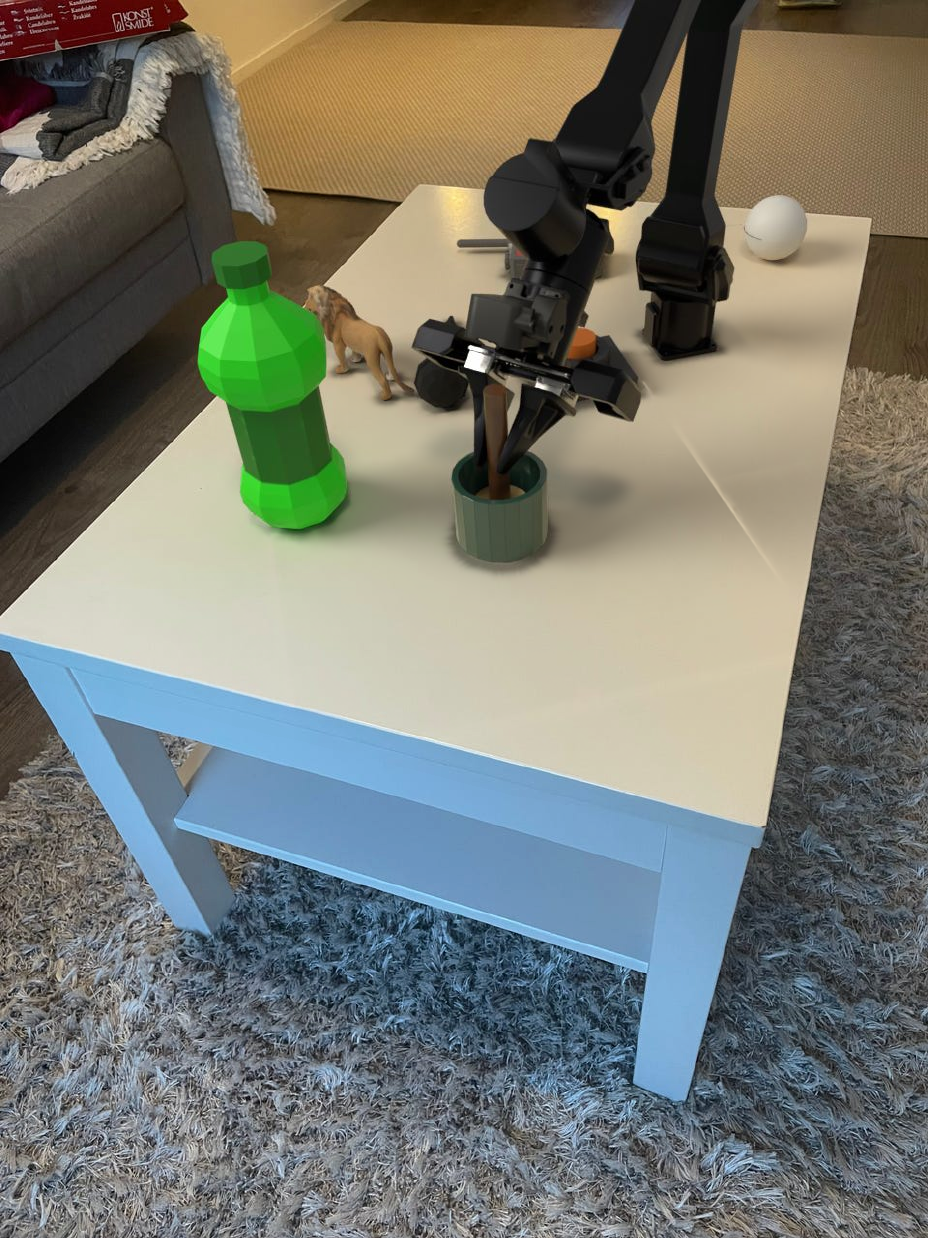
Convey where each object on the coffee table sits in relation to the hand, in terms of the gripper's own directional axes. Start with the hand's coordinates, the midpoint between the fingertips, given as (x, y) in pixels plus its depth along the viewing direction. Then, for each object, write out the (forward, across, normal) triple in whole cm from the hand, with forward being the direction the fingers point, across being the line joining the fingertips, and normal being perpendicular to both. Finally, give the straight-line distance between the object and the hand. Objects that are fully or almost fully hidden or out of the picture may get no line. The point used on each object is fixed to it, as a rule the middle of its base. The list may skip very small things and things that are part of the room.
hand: (488, 470), depth 79 cm
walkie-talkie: (-29, -24, +40) cm, 55 cm away
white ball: (-38, 0, +50) cm, 63 cm away
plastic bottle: (+9, -18, +3) cm, 21 cm away
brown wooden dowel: (+4, 0, +7) cm, 8 cm away
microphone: (-10, -20, +22) cm, 31 cm away
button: (-16, -6, +22) cm, 28 cm away
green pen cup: (+5, 0, +7) cm, 8 cm away
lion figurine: (-6, -28, +18) cm, 34 cm away
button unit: (-13, -6, +25) cm, 29 cm away
